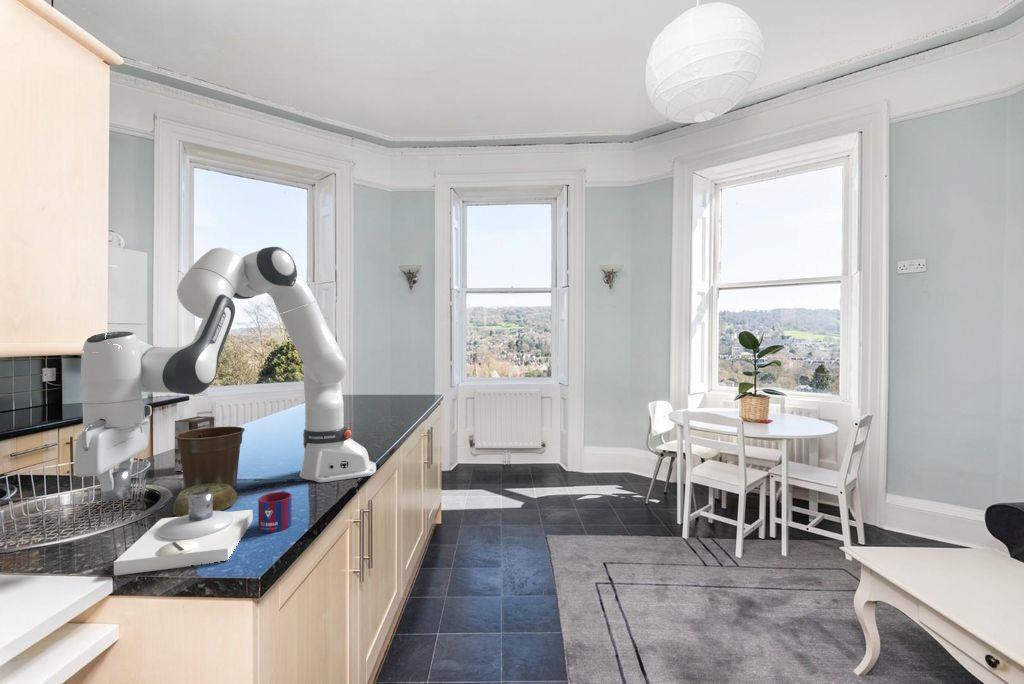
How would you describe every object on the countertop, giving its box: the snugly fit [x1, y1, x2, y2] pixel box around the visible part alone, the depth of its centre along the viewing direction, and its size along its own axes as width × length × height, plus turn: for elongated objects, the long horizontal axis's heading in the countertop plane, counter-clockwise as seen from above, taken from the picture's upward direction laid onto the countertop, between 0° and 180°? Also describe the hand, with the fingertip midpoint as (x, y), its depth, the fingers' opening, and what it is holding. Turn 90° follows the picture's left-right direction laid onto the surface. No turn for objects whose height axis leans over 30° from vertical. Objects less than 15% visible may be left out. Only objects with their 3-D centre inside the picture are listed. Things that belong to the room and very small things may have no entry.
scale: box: [113, 509, 254, 576], centre depth 94 cm, size 18×20×3 cm
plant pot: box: [174, 426, 245, 490], centre depth 128 cm, size 16×16×16 cm
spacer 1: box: [100, 468, 132, 502], centre depth 89 cm, size 4×4×5 cm
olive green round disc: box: [172, 483, 238, 517], centre depth 114 cm, size 14×13×5 cm
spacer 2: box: [188, 491, 213, 521], centre depth 100 cm, size 4×4×5 cm
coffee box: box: [174, 415, 215, 472], centre depth 146 cm, size 9×6×16 cm
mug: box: [257, 490, 293, 534], centre depth 105 cm, size 7×10×7 cm
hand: (116, 485), depth 89 cm, fingers closed on spacer 1, 4 cm apart
